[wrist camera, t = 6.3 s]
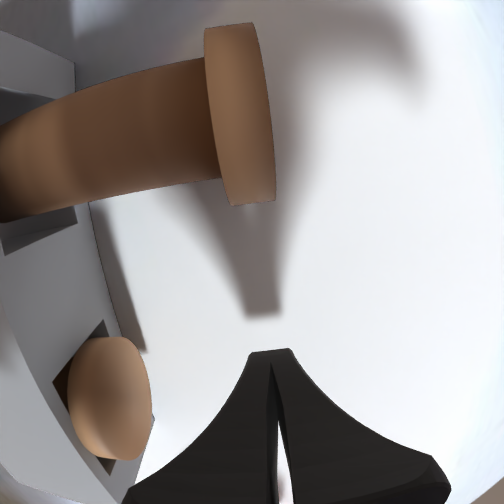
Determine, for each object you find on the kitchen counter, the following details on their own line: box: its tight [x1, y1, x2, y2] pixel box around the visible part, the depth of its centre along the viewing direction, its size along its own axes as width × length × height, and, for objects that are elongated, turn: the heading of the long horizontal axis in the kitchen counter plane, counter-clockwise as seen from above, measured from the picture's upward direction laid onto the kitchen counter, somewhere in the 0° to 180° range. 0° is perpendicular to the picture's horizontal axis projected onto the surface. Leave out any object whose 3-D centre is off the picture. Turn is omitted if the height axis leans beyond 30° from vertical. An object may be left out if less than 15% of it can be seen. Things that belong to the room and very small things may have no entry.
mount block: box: [0, 30, 155, 504], centre depth 9 cm, size 6×16×6 cm, turn 7°
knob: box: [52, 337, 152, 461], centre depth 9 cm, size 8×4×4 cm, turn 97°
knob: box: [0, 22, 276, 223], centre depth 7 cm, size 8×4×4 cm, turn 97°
